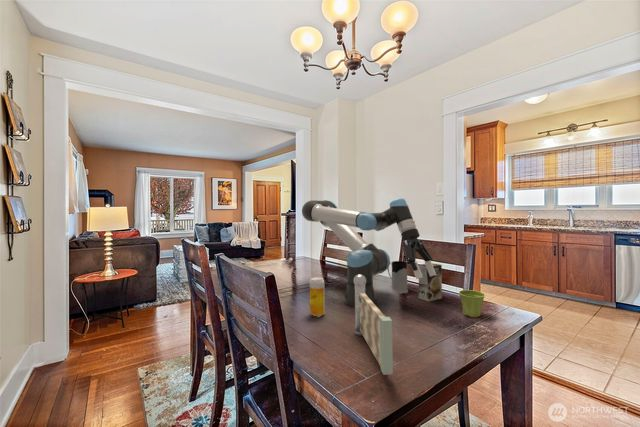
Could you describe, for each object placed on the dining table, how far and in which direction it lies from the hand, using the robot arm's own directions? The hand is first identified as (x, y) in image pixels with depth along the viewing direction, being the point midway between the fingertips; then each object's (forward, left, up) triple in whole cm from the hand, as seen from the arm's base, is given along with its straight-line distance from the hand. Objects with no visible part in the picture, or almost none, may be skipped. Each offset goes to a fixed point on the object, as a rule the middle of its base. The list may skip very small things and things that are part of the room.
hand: (426, 276), depth 121 cm
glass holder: (-23, +19, -14) cm, 33 cm away
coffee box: (-4, +15, -14) cm, 21 cm away
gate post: (-11, -37, -14) cm, 41 cm away
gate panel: (0, -48, -12) cm, 49 cm away
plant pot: (+16, +4, -14) cm, 22 cm away
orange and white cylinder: (-34, -33, -14) cm, 49 cm away
